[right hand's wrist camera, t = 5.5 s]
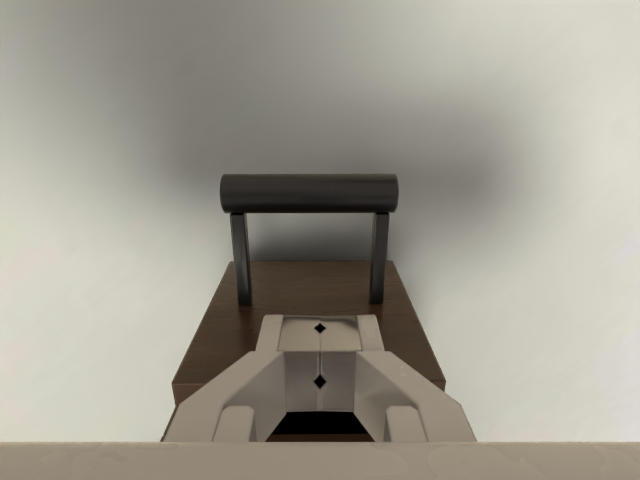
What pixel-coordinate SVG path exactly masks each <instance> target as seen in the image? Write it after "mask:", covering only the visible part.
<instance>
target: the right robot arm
mask: <svg viewBox="0 0 640 480" xmlns="http://www.w3.org/2000/svg"><path fill="white" fill-rule="evenodd" d="M299 411H341V412H354V414H355V416H356V417H357V418H358V420H359V421H360V422H361V424H362V425H363V426H364V428H365V429H366V430H367V431H368V433H369V434H370V435H371V437H372V438H373V439H374V441H375V442H265V441H266V440H267V438H268V437H269V436H270V434H271V433H272V432H273V430H274V429H275V428H276V427H277V425H278V424H279V423H280V421H281V420H282V419H283V417H284V416H285V415H286V412H299ZM0 480H640V442H477V440H476V438H475V436H474V433H473V431H472V429H471V427H470V424H469V422H468V420H467V418H466V415H465V413H464V411H463V409H462V406H461V404H459V403H458V402H457V401H455V400H454V399H453V398H451V397H450V396H449V395H447V394H446V393H445V392H443V391H442V390H441V389H439V388H438V387H437V386H435V385H434V384H433V383H431V382H430V381H429V380H427V379H426V378H425V377H424V376H422V375H421V374H420V373H418V372H417V371H416V370H414V369H413V368H412V367H410V366H409V365H408V364H406V363H405V362H404V361H402V360H401V359H400V358H398V357H397V356H396V355H394V354H393V353H392V352H390V351H385V350H384V346H383V342H382V338H381V334H380V330H379V326H378V322H377V318H376V316H375V315H374V314H372V315H345V316H318V315H265V316H264V318H263V322H262V326H261V330H260V334H259V338H258V342H257V346H256V350H255V351H250V352H248V353H247V354H246V355H244V356H243V357H242V358H240V359H239V360H238V361H236V362H235V363H234V364H232V365H231V366H230V367H228V368H227V369H226V370H224V371H223V372H222V373H220V374H219V375H218V376H216V377H215V378H214V379H212V380H211V381H210V382H208V383H207V384H206V385H204V386H203V387H202V388H200V389H199V390H198V391H196V392H195V393H194V394H192V395H191V396H190V397H188V398H187V399H186V400H184V401H183V402H182V403H180V405H179V407H178V409H177V411H176V413H175V416H174V418H173V420H172V422H171V425H170V427H169V429H168V431H167V433H166V436H165V438H164V440H163V442H0Z"/></svg>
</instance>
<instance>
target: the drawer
mask: <svg viewBox="0 0 640 480" xmlns="http://www.w3.org/2000/svg"><path fill="white" fill-rule="evenodd" d="M398 193H399V190H398V180H397V176H396V175H395V174H224V175H223V176H222V178H221V182H220V201H221V206H222V209H223V211H224V212H225V213H231V214H230V223H231V234H232V245H233V255H234V262H230V263H229V265H228V267H227V269H226V271H225V273H224V275H223V277H222V280H221V282H220V284H219V286H218V288H217V290H216V292H215V294H214V296H213V298H212V300H211V302H210V304H209V306H208V308H207V311H206V313H205V315H204V317H203V319H202V321H201V323H200V325H199V327H198V329H197V331H196V333H195V335H194V337H193V340H192V342H191V344H190V346H189V348H188V350H187V352H186V354H185V356H184V358H183V360H182V362H181V364H180V366H179V369H178V371H177V373H176V375H175V377H174V379H173V381H172V389H173V394H174V400H175V405H176V408H177V409H178V407H179V405H180V403H182V402H183V401H184V400H186V399H187V398H188V397H190V396H191V395H192V394H194V393H195V392H196V391H198V390H199V389H200V388H202V387H203V386H204V385H206V384H207V383H208V382H210V381H211V380H212V379H214V378H215V377H216V376H218V375H219V374H220V373H222V372H223V371H224V370H226V369H227V368H228V367H230V366H231V365H232V364H234V363H235V362H236V361H238V360H239V359H240V358H242V357H243V356H244V355H246V354H247V353H248V352H250V351H255V350H256V346H257V342H258V338H259V334H260V330H261V326H262V322H263V318H264V316H265V315H318V316H345V315H372V314H374V315H375V316H376V318H377V322H378V326H379V330H380V334H381V338H382V342H383V346H384V350H385V351H390V352H392V353H393V354H394V355H396V356H397V357H398V358H400V359H401V360H402V361H404V362H405V363H406V364H408V365H409V366H410V367H412V368H413V369H414V370H416V371H417V372H418V373H420V374H421V375H422V376H424V377H425V378H426V379H427V380H429V381H430V382H431V383H433V384H434V385H435V386H437V387H438V388H439V389H441V390H442V391H443V392H444V390H445V384H446V380H445V377H444V375H443V373H442V371H441V368H440V366H439V364H438V362H437V359H436V357H435V355H434V353H433V350H432V348H431V346H430V344H429V341H428V339H427V337H426V335H425V332H424V330H423V328H422V326H421V323H420V321H419V319H418V317H417V314H416V312H415V310H414V308H413V305H412V303H411V301H410V299H409V297H408V294H407V292H406V290H405V288H404V285H403V283H402V281H401V279H400V276H399V274H398V272H397V270H396V267H395V265H394V263H393V261H386V257H387V243H388V229H389V213H393V212H395V211H396V208H397V204H398ZM246 213H373V230H372V248H371V261H250V256H249V243H248V229H247V216H246ZM282 434H369V433H368V431H367V430H366V429H365V428H364V426H363V425H362V424H361V422H360V421H359V420H358V418H357V417H356V416H355V414H354V412H341V411H299V412H286V415H285V416H284V417H283V419H282V420H281V421H280V423H279V424H278V425H277V427H276V428H275V429H274V430H273V432H272V433H271V434H270V435H282Z"/></svg>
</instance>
